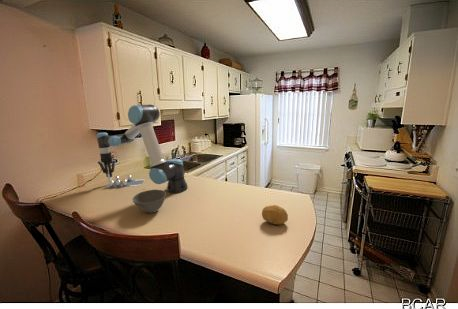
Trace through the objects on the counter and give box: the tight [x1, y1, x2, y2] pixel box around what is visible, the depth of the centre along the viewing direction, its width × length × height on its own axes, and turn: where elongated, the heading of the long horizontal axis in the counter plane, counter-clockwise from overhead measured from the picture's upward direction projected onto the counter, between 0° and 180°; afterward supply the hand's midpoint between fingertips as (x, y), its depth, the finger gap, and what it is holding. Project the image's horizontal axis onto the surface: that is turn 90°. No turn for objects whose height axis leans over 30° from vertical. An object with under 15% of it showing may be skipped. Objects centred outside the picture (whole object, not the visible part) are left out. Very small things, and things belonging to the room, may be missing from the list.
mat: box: [105, 179, 146, 189], centre depth 177 cm, size 27×15×1 cm, turn 96°
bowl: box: [132, 189, 167, 214], centre depth 130 cm, size 19×19×10 cm
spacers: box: [108, 174, 133, 189], centre depth 176 cm, size 13×14×5 cm
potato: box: [261, 204, 289, 226], centre depth 112 cm, size 10×13×9 cm
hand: (110, 180), depth 175 cm, fingers closed
